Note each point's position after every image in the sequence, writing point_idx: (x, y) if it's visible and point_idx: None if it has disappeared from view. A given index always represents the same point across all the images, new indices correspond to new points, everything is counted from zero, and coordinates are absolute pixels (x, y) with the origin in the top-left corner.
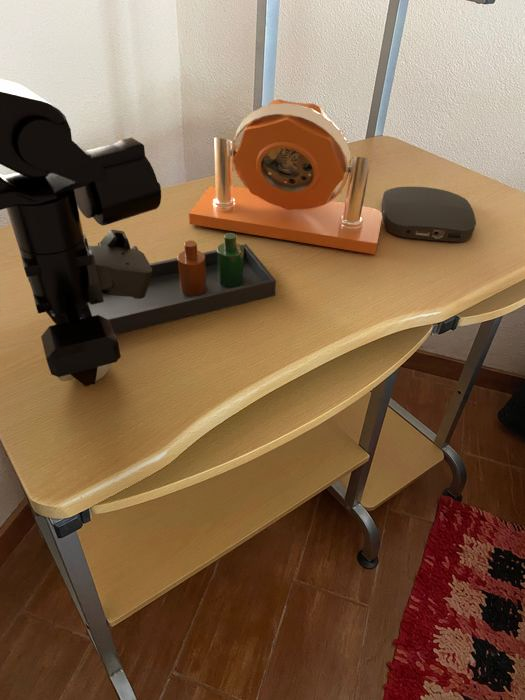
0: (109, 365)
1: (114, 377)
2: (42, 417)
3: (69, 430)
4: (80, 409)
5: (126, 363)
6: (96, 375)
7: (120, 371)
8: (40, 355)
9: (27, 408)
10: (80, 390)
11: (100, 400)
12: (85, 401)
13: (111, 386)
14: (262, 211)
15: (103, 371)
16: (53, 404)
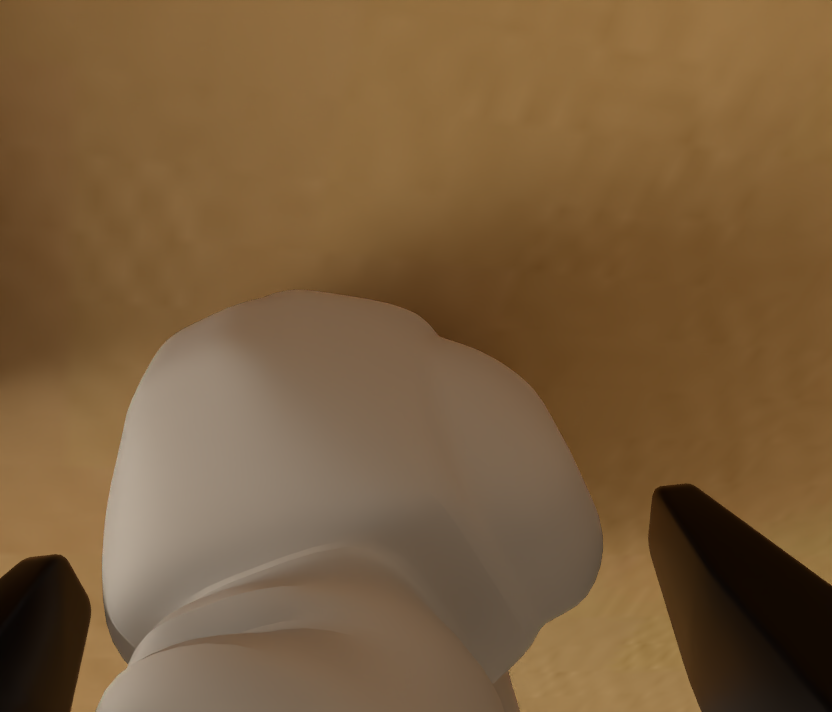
0: (408, 325)
1: (443, 244)
2: (643, 637)
3: (822, 534)
4: (684, 481)
5: (268, 110)
6: (799, 563)
7: (376, 183)
8: (97, 657)
9: (542, 687)
10: None
11: (666, 366)
12: (626, 453)
13: (547, 278)
14: None
15: (541, 406)
16: None
